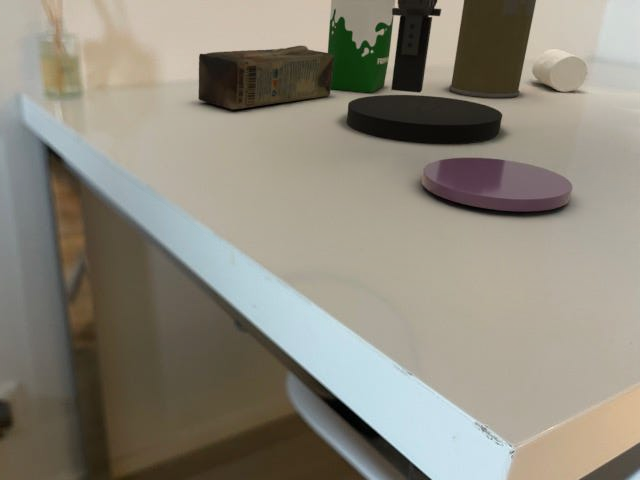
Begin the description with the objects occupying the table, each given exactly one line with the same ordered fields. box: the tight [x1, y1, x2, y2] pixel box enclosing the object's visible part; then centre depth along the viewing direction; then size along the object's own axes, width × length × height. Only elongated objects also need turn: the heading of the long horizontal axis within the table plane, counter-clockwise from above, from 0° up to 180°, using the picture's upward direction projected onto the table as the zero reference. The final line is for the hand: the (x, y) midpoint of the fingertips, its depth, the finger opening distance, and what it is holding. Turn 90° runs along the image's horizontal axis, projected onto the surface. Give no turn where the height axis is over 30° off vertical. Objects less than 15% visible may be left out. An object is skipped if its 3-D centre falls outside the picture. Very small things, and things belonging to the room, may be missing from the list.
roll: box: [531, 48, 589, 93], centre depth 108 cm, size 6×12×6 cm, turn 177°
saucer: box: [421, 157, 573, 212], centre depth 56 cm, size 12×12×1 cm
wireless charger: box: [346, 94, 503, 145], centre depth 79 cm, size 18×18×2 cm
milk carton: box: [327, 0, 396, 94], centre depth 98 cm, size 9×9×20 cm
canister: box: [448, 0, 537, 99], centre depth 98 cm, size 11×10×20 cm
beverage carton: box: [198, 45, 334, 111], centre depth 90 cm, size 8×19×7 cm, turn 133°
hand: (406, 89), depth 63 cm, fingers closed
